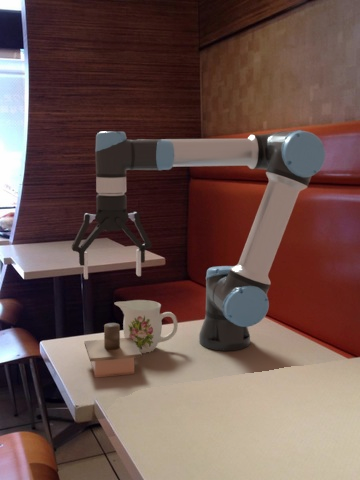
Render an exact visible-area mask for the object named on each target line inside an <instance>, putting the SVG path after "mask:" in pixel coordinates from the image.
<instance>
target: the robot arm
mask: <svg viewBox="0 0 360 480" xmlns="http://www.w3.org/2000/svg"><path fill="white" fill-rule="evenodd" d="M94 152H95V175H96V176H95V177H96V178H95V180H96V183H95V184H96V185H95V187H96V189H95V190H96V193H97V194H96V196H95V197H96V199H95V200H96V212H95V214H91V213H88V212H85V213H84V214H83V222H82V224H81V225H80V229H79V230H78V232H77V234H76V236H75V239H74V240H73V242H72V245H71V249H72V251H73V252H76V253H78V263H79V266H82V267H83V278H84V280H88V279H89V267H88V266H89V265H88V261H89V259H88V252H87V250H88V248H89V247H90V245H91V244H92V243H93V242H95V240H96V239H97V238H98V236H99V235H100V234H101V233H103V231H105V232H111V231H113V232H120V230H123V231H124V233H125V234H126V235H127V236H128V237H129V239H130V240H131V241H132V242H133V243H134V244H135V246H137V247H138V249H135V274H136V276H137V277H141V276H142V263H145V261H146V256H145V255H146V250H147V249H151V248H152V247H153V245H152V243H151V241H150V238H149V237H148V235H147V232H146V230H145V229H144V227H143V224H142V222H141V221H140V219H141V218H140V214H139V212H137V211H133V212H130V213H128V211H127V208H128V207H127V206H128V205H127V195H126V194H125V193H127V171H128V170H129V171H134V170H137V171H163V170H166V171H169V170H171V169H172V168H174V167H175V168H176V167H230V166H231V167H236V166H237V167H238V166H240V167H241V166H243V167H244V166H247V167H248V168H249V169H251V170H266V172H265V175H266V177H267V178H268V183H267V185H266V188H265V191H264V193H263V196H262V199H261V201H260V204H259V206H258V209H257V212H256V214H255V218H254V219H253V223H252V225H251V228H250V231H249V234H248V236H247V239H246V242H245V244H244V247H243V250H242V252H241V255H240V257H239V261H238V262H237V264H236V265H221V266H220V265H219V266H212V267H209V268H208V269H207V270H206V276H205V280H206V281H205V317H204V319H203V320H204V321H203V322H202V326H201V328H200V331H199V334H198V335H199V337H198V339H199V341H198V342H199V344H200V345H201V346H202V347H205V348H207V349H211V350H215V351H225V352H230V351H232V352H233V351H239V350H243V349H246V348H248V347H249V346H250V345H251V334H250V331H249V327H252V326H254V325H256V324H258V323H260V322H262V321H263V320H264V318H265V317H266V315H267V313H268V311H269V308H270V307H269V306H270V303H269V297H268V292H269V290H270V287H271V280H270V278H269V273H270V270H271V268H272V265H273V262H274V260H275V257H276V255H277V252H278V249H279V247H280V244H281V241H282V238H283V236H284V233H285V231H286V228H287V225H288V223H289V220H290V217H291V215H292V212H293V209H294V207H295V204H296V202H297V199H298V196H299V193H300V192H301V191H303V190H305V189H308V186H309V184H310V182H311V179H312V176H315V175H317V173H318V172H319V171H321V170H322V167H323V166H324V164H325V161H326V149H325V146H324V144H323V141H322V140H321V139H320V138H319V137H318V136H317V135H316V134H314V133H312V132H310V131H305V130H303V129H298V130H283V131H282V130H280V131H276V132H275V131H274V132H271V133H264V134H263V133H262V134H250V135H249V136H248V137H247V138H165V139H163V138H161V139H157V138H156V139H154V138H153V139H151V138H150V139H145V138H137V139H128V137H127V134H126V132H125V131H99V132H97V134H96V135H95V149H94ZM129 219H130V221H132V222H134V225H135V227H136V229H137V232H138V233H139V234H140V237H141V239H142V241H143V242H144V243H141V241H140V240H139V239H138V238H137V237H136V235H135V234H134V233H133V232H132V231H131V229H129V227H128V226H127V225H126V223H127V222H128V220H129ZM93 220H95V221H96V222H97V225H96V226H95V228H94V229H93V230H92V232H91V233H90V234H89V235H88V237H87V238H86V239H85V240H84V241H83V242H82V240H83V238H84V236H85V233H86V232H87V229H88V228H89V225H90V224H91V223H92V222H93ZM81 242H82V244H81Z"/></svg>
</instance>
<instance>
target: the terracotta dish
mask: <svg viewBox="0 0 360 480" xmlns="http://www.w3.org/2000/svg"><path fill="white" fill-rule="evenodd" d="M90 363H91V368H92V371H93V374H94V377H95V378H105V377H115V376H116V377H117V376H126V375H135V358H125V359H114V360H102V361H91V362H90Z"/></svg>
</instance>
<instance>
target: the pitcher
mask: <svg viewBox="0 0 360 480" xmlns="http://www.w3.org/2000/svg"><path fill="white" fill-rule="evenodd" d="M114 305H115V306H117V307H119V308H120V310H121V311H122V314H123V323H122V325H123V326H122V328H123V329H122V330H123V335H124V338H131V337H132V338H133V340H134V342H135V344H136V345H137V347H138V349H139V351H140V352H141V354H147V353H146V352H149V353H151V352H150V351H152V352H153V351H155V349H156V347H157V346H158V344H159V343H164V342H168V341H169V340H171V339H172V338H173V337H174V336H175V335H176V333H177V331H178V318H177V316H176V315H175V314H174V313H172V312H171V311H165V312H163V313H160V311H161V307H162V304H161V303H160V302H157V301H154V300H146V299H133V300H126V301H125V300H124V301H116V302H114ZM166 317H167V318H171V320H172V322H173V328H172V331H171V332H169V333H168V334H167V335H164V336H162V332H163V331H162V330H163V324H162V323H163V322H162V320H163V319H164V318H166Z"/></svg>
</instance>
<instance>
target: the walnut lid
mask: <svg viewBox="0 0 360 480" xmlns="http://www.w3.org/2000/svg"><path fill="white" fill-rule="evenodd" d="M103 327H104V328H103V329H104V330H103V331H104V332H103V337H104V339H95V340H84V347H85V350H86V353H87V355H88V359H89V362H90V363H91V361H102V360H114V359H125V358H134V359H135V358H142V355H143V353H141V352H140V351H139V349H138V347H137V345H136V344H135V342H134V340H133V338H132V337H131V338H125V337H121V335H120V334H121V331H120V330H121V326H120V324H119V323H118V322H117V323H116V322H108V323H105V324H104V325H103Z"/></svg>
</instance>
